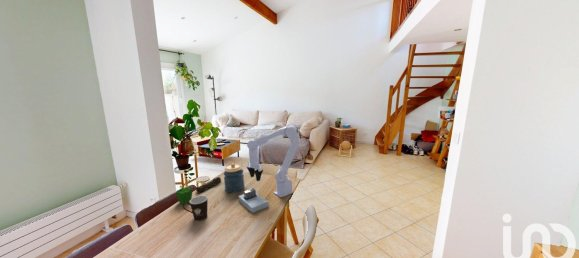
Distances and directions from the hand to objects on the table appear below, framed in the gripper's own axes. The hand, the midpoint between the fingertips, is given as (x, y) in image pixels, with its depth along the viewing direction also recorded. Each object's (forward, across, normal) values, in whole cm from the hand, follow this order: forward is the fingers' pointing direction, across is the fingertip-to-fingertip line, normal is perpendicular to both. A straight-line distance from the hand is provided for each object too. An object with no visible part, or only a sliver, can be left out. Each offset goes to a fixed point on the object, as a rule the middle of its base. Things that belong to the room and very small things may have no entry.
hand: (255, 178), depth 134 cm
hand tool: (+10, -29, -20) cm, 37 cm away
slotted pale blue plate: (+9, +10, -8) cm, 16 cm away
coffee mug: (+10, +3, -36) cm, 38 cm away
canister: (+10, -15, -8) cm, 20 cm away
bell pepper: (+10, -18, -38) cm, 43 cm away
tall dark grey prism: (+10, +8, -8) cm, 15 cm away
